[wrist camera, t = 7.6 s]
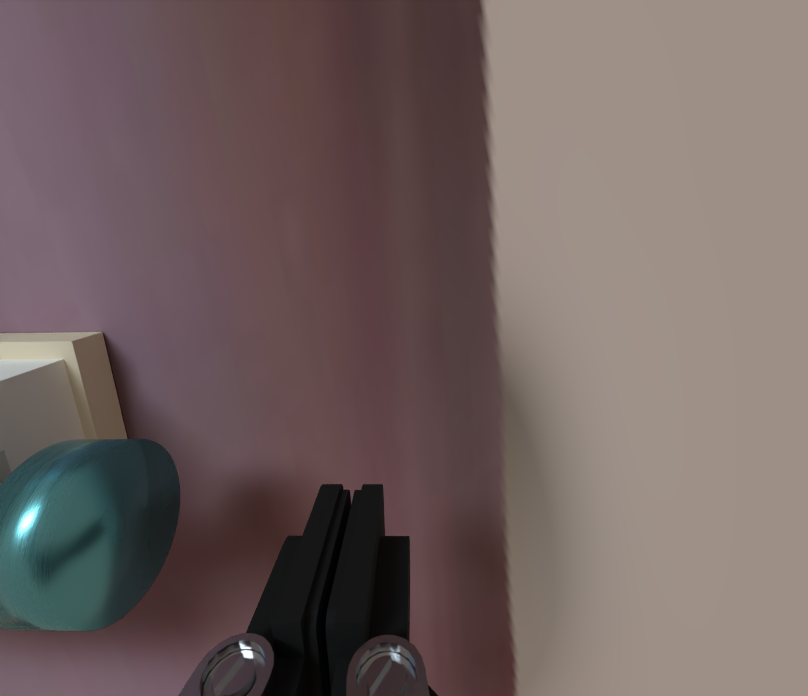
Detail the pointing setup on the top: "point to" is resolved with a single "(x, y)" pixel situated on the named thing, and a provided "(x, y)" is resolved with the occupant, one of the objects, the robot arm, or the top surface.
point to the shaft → (84, 532)
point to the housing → (54, 393)
